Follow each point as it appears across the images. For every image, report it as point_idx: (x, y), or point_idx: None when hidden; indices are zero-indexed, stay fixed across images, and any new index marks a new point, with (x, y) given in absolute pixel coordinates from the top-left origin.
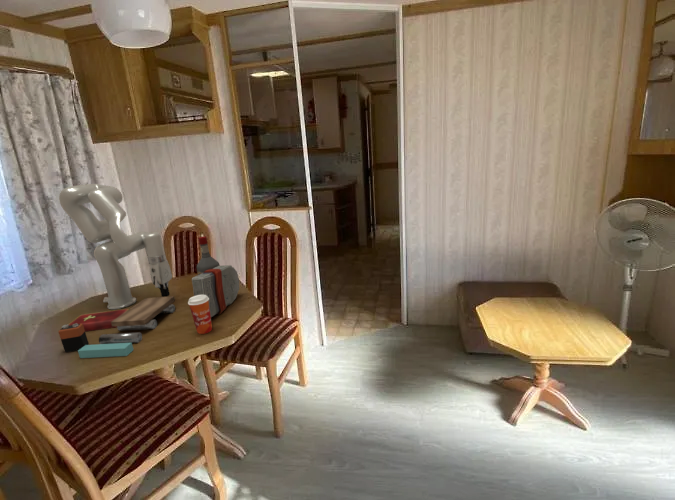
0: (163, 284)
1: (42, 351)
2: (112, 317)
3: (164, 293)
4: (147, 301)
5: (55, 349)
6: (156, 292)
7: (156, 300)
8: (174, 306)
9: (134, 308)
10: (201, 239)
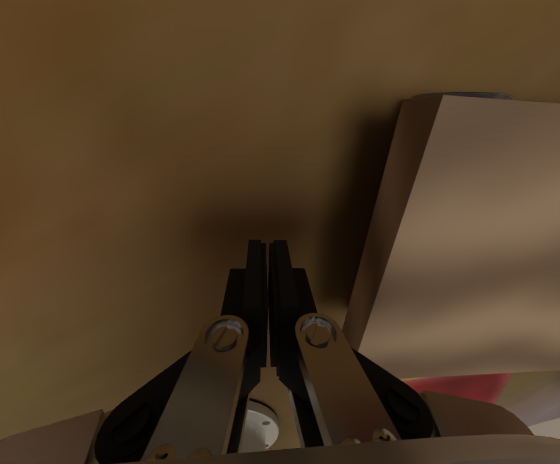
0: (376, 416)
1: (531, 416)
2: (473, 389)
3: (307, 283)
4: (444, 335)
5: (544, 399)
6: (63, 382)
7: (470, 273)
8: (430, 94)
9: (546, 350)
10: None
